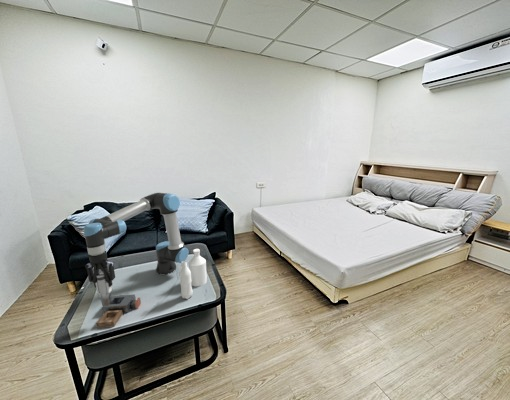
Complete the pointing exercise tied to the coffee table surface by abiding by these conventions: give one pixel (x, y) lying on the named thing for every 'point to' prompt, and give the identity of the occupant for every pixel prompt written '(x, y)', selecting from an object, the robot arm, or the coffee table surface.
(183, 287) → the water bottle
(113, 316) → the brown square tray
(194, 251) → the bottle
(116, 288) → the coffee table surface
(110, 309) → the socket block
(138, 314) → the coffee table surface
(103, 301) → the peg
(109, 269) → the robot arm
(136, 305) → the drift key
